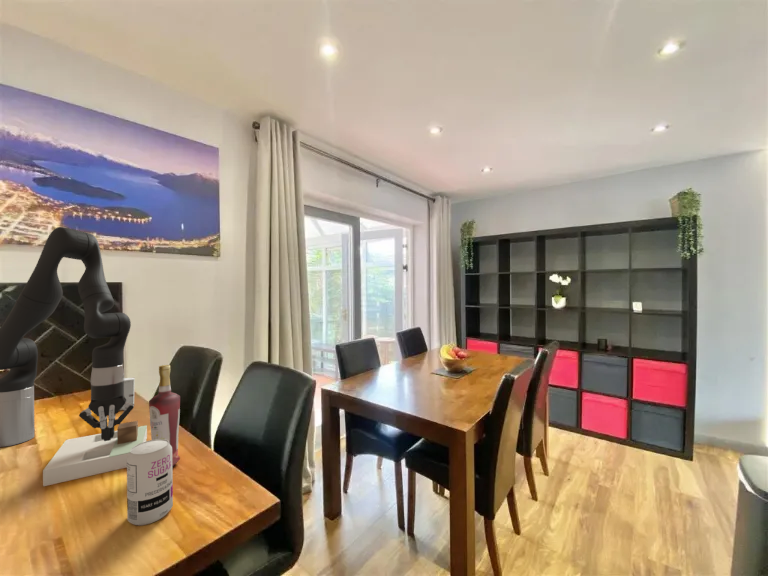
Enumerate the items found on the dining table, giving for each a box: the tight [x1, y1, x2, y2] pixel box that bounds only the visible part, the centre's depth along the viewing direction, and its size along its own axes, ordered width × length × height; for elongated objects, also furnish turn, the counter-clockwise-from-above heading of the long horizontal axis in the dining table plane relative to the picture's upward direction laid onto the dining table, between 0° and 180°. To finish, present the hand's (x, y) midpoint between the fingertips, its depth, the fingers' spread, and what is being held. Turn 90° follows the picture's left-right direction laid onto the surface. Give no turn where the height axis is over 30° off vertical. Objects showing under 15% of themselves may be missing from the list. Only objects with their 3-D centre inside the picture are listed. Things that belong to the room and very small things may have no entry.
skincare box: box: [119, 377, 135, 411], centre depth 139 cm, size 6×4×12 cm
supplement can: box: [126, 439, 174, 526], centre depth 74 cm, size 8×8×15 cm
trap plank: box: [42, 425, 148, 487], centre depth 98 cm, size 20×20×4 cm
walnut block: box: [116, 420, 139, 444], centre depth 101 cm, size 4×4×4 cm
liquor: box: [148, 364, 181, 468], centre depth 93 cm, size 7×7×28 cm
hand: (107, 439), depth 98 cm, fingers closed
